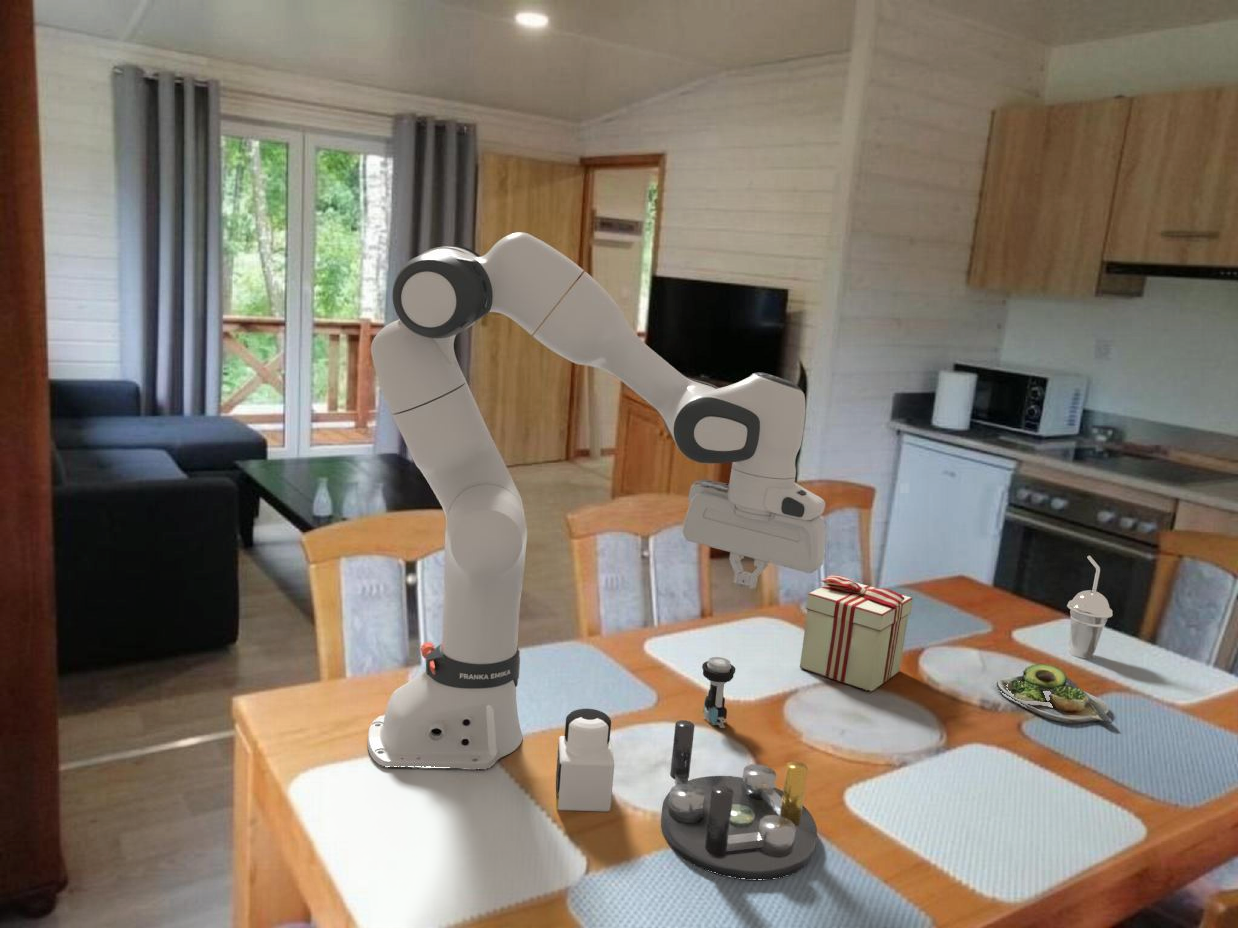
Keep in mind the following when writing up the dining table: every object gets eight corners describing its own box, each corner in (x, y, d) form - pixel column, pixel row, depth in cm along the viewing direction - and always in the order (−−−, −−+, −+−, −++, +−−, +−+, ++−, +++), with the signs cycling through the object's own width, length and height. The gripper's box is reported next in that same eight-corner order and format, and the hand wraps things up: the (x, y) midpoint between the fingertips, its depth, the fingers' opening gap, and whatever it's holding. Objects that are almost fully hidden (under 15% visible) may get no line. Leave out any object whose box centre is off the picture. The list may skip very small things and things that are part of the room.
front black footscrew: (782, 833, 117) (790, 774, 116) (799, 854, 113) (807, 793, 112) (698, 842, 114) (705, 782, 112) (712, 864, 110) (719, 802, 108)
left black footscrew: (704, 823, 118) (710, 764, 116) (669, 821, 118) (676, 762, 116) (694, 775, 129) (699, 721, 128) (662, 773, 129) (668, 719, 127)
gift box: (907, 664, 180) (920, 580, 177) (878, 696, 165) (892, 605, 162) (823, 640, 189) (834, 559, 186) (789, 668, 174) (800, 581, 170)
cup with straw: (1056, 654, 192) (1073, 562, 188) (1061, 642, 200) (1078, 553, 196) (1101, 666, 188) (1120, 572, 184) (1105, 653, 195) (1123, 562, 191)
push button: (737, 729, 148) (744, 671, 146) (706, 731, 147) (713, 672, 145) (722, 710, 155) (728, 654, 153) (692, 711, 153) (698, 655, 151)
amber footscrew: (735, 784, 128) (742, 730, 126) (763, 780, 130) (769, 726, 128) (780, 832, 117) (787, 773, 116) (809, 827, 119) (817, 769, 118)
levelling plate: (694, 889, 109) (696, 869, 108) (640, 795, 127) (642, 778, 127) (844, 869, 115) (847, 851, 114) (772, 782, 133) (774, 766, 133)
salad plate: (1141, 725, 163) (1146, 700, 162) (1068, 738, 156) (1073, 712, 155) (1051, 678, 180) (1055, 656, 180) (982, 688, 173) (986, 665, 172)
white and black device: (555, 781, 129) (561, 701, 126) (606, 783, 130) (613, 703, 127) (556, 811, 122) (562, 727, 120) (610, 812, 123) (617, 729, 120)
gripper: (683, 478, 131) (669, 571, 134) (824, 511, 122) (806, 610, 125) (700, 472, 136) (687, 562, 139) (837, 504, 127) (819, 599, 130)
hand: (744, 585), depth 132 cm, fingers closed
